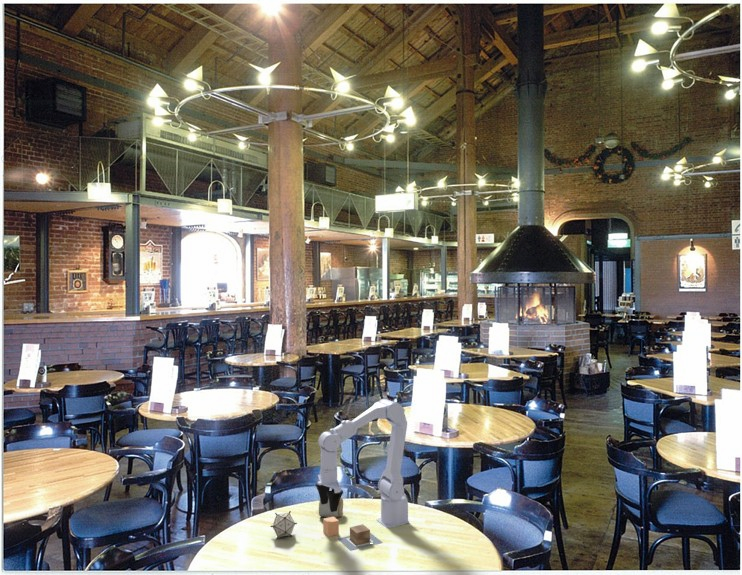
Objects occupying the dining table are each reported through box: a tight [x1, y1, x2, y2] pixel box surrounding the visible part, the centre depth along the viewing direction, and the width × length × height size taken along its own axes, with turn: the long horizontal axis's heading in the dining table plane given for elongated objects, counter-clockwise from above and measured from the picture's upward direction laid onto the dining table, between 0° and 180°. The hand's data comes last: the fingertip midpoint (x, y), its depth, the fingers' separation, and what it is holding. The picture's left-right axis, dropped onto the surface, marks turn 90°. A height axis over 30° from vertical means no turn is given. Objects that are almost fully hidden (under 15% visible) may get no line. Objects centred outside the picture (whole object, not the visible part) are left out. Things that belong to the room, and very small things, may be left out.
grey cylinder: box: [318, 497, 344, 519], centre depth 205 cm, size 11×8×8 cm
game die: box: [269, 510, 298, 540], centre depth 186 cm, size 9×8×10 cm
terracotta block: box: [322, 516, 340, 537], centre depth 188 cm, size 4×4×5 cm
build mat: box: [337, 532, 384, 552], centre depth 182 cm, size 12×10×1 cm
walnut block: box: [349, 523, 371, 545], centre depth 183 cm, size 5×5×4 cm
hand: (329, 507), depth 188 cm, fingers open, 7 cm apart
